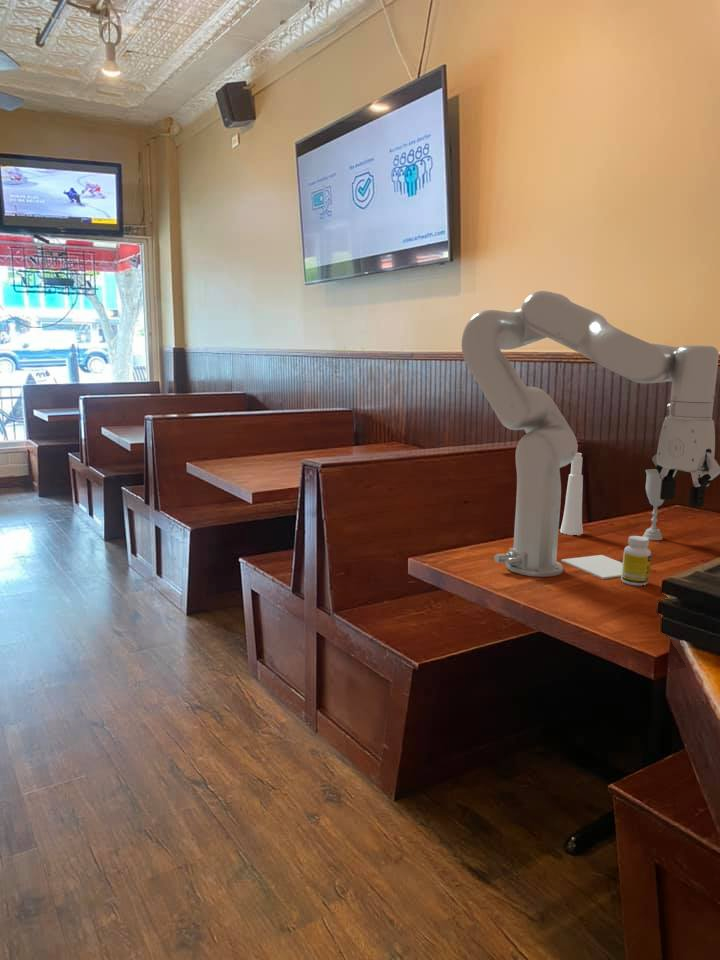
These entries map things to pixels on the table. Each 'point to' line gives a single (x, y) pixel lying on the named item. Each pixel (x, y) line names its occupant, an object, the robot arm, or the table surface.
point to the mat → (597, 566)
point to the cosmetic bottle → (574, 500)
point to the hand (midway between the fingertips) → (681, 501)
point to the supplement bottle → (636, 561)
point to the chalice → (653, 501)
